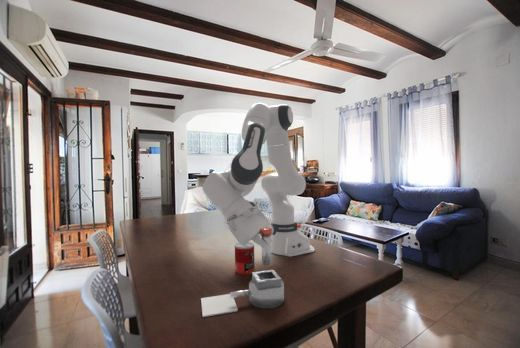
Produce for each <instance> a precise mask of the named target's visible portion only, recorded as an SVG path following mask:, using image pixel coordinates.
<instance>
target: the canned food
mask: <svg viewBox="0 0 520 348" xmlns="http://www.w3.org/2000/svg"><path fill="white" fill-rule="evenodd" d="M234 266H235V267H234V268H235V269H234V270H235V273H236V274H238V275H240V276H249V275H252V272H255V244H254V242H250V241H249V242H248V243H247V244H245V245H242V244H240V243H239V242H236V243H235V244H234Z"/></svg>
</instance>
